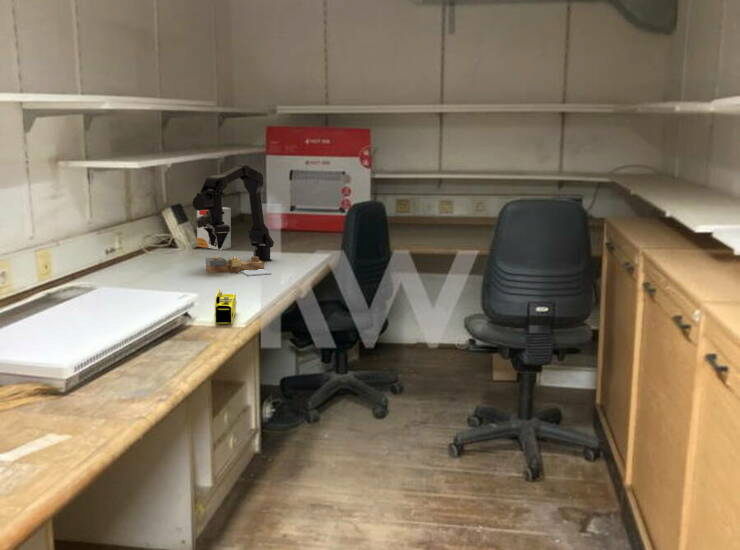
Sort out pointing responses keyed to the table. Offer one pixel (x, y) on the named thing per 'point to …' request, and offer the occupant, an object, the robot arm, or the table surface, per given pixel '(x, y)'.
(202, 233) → the hard drive box
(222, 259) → the cap plate
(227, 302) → the yellow toy chassis
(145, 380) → the table surface
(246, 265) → the plane body
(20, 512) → the table surface
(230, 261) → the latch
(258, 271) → the mat
